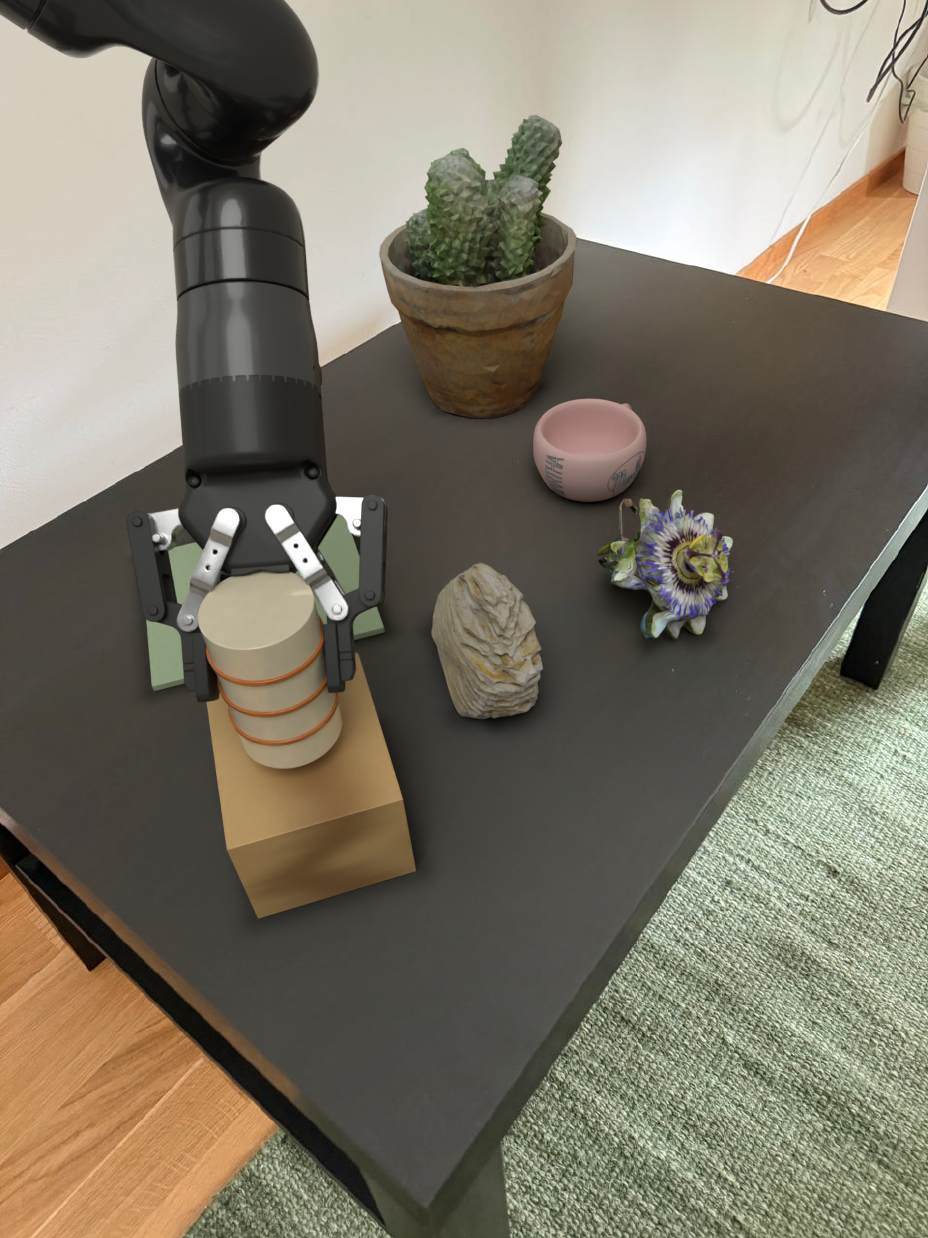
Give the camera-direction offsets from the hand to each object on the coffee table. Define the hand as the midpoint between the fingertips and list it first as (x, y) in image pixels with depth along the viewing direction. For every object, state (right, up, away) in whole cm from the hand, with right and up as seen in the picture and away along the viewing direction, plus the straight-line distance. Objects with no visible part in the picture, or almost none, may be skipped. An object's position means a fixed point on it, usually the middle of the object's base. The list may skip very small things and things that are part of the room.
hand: (273, 695), depth 50 cm
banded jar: (0, -2, +5) cm, 5 cm away
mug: (+22, +17, +36) cm, 46 cm away
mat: (-7, +6, +27) cm, 28 cm away
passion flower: (+25, +5, +24) cm, 35 cm away
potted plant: (+12, +28, +47) cm, 56 cm away
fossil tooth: (+12, 0, +19) cm, 23 cm away
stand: (+1, -9, +11) cm, 14 cm away
